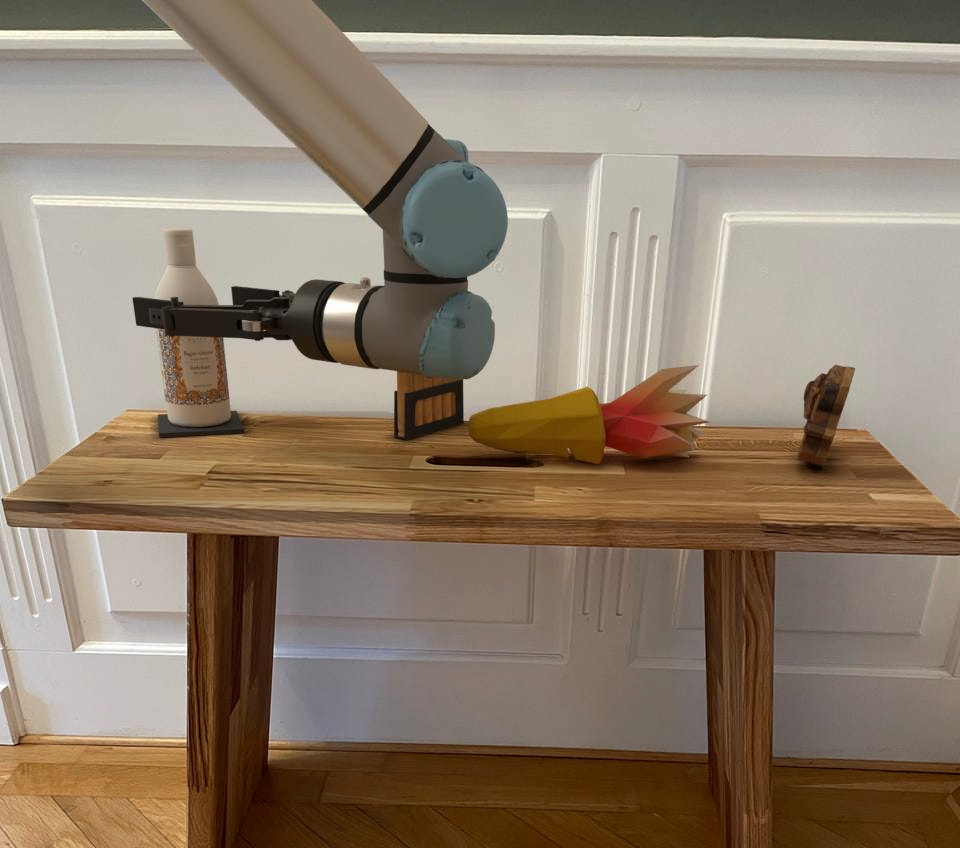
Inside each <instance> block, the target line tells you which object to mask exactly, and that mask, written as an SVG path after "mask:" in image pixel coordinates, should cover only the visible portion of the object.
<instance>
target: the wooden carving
mask: <svg viewBox="0 0 960 848" xmlns="http://www.w3.org/2000/svg"><path fill="white" fill-rule="evenodd" d="M855 372H856V367H854V366H847V365H845V366H842V365H839V364H834V365H832V367H831V368H830V369H829V370H828V372H827V373H823V372H821V373H820V374H819V375H818V376H816V377H815V379H814V380H810V381H809V382H808V383H807V384H806V386H805V389H804V392H803V419H804V420H806V423H805V425H804V426H803V427H802V431H803V436H802V438H801V439H802V440H801V441H800V444H799V446H798V447H799V448H798V451H797V460H798V461H800V462H805V463H811V464H812V465H813V466H816V467H820V468H824V467H825V464H826V462H827V459H828V456H829V453H830V449H831V446H832V444H833V441H834V438H835V436H836V432H837V430H838V426H839V422H840V419H841V417H842V414H843V411H844V408H845V404H846V401H847V398H848V395H849V393H850V388H851V386H852V382H853V378H854V375H855Z"/></svg>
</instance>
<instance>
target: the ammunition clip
mask: <svg viewBox="0 0 960 848" xmlns="http://www.w3.org/2000/svg"><path fill="white" fill-rule="evenodd" d="M464 413H465V412H464V379H449V378H434V377H432V379H431V378H426V377H425V376H421V375H415V374H409V373H404V372H398V371H396V390H394V391H393V437H394V438H396V439H401V440H405V441H410V440H414V439H416V438H419V437H423V436H426V435H429V434H432V433H436V432H439V431H443V430H445V429H449V428H452V427H455V426H458V425H462V424H464V423H465V421H464V420H465V419H464V415H465V414H464Z"/></svg>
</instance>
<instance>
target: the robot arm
mask: <svg viewBox="0 0 960 848" xmlns="http://www.w3.org/2000/svg"><path fill="white" fill-rule="evenodd" d="M141 1H142V2H143V3H144V4H145V5H146V6H147V7H148V8H149V9H150V10H151V11H152V12H153V13H154V14H155V15H157V16H158V17H159V18H160V19H161V20H162V21H163V22H164V23H165V24H166V25H167V26H168V27H169V28H170V29H171V30H172V31H173V32H174V33H175V34H176V35H178V36H179V37H180V39H182V40H183V41H184V42H185V43H186V44H187V45H188V46H190V48H191V49H192V50H194V51H195V52H196V53H197V55H199V56H200V57H201V58H202V59H203V60H204V61H205V62H206V63H207V64H208V65H209V66H210V67H211V68H212V69H214V71H215V72H217V73H218V74H219V75H220V76H221V77H222V78H223V79H224V80H225V81H226V82H227V83H228V84H229V85H230V86H231V87H232V88H233V89H235V90H236V91H237V92H238V93H239V94H240V95H241V96H242V97H243V98H244V99H245V100H246V101H247V102H248V103H249V104H250V105H251V106H253V108H255V109H256V110H257V111H258V112H259V113H260V114H261V115H262V116H263V117H264V118H265V119H266V120H267V121H268V122H270V123H271V124H272V126H274V127H275V128H276V129H277V130H278V131H279V132H280V133H281V134H282V135H283V136H284V137H286V139H287V140H289V141H290V142H291V143H292V144H293V145H294V146H295V147H296V148H297V149H298V150H299V151H300V152H301V153H302V154H303V155H304V156H305V157H306V158H308V159H309V160H310V161H311V162H312V163H313V164H314V165H315V166H316V167H317V168H318V169H319V170H320V171H321V172H323V174H325V176H327V178H328V179H330V180H331V181H332V182H333V183H334V184H335V185H336V186H337V187H338V188H339V189H340V190H341V191H342V192H343V193H344V194H346V196H347V197H349V198H350V199H351V200H352V201H353V202H354V203H355V204H356V205H357V206H358V207H359V208H361V209H362V210H363V212H364V213H366V215H367V217H369V218H370V219H371V220H372V221H373V222H374V223H375V224H376V225H377V226H378V227H379V228H380V229H382V244H383V245H382V247H383V249H382V250H383V280H384V281H383V283H384V284H383V285H372V283H371V278H370V277H361V278H360V280H359V282H360V283H354V282H353V283H351V282H344V281H338V280H327V279H310V280H308V281H306V282H304V283H303V284H302V285H301V286H299V287H298V289H297V290H296V292H294V291H292V290H289V289H288V290H284V291H282V292H281V294H280V290H277V289H267V288H259V287H249V286H239V285H234V286H233V285H232V286H231V287H230V289H231V291H230V292H231V300H232V301H231V302H232V304H219V305H184V304H183V302H178V297H171V301H169V300H161V299H155V298H153V297H143V296H133V297H131V298H132V299H131V300H132V306H133V313H134V318H135V319H134V320H135V325H136V327H143V328H151V329H156V328H157V329H164V331H165V335H166V336H169V337H174V336H192V337H220V338H223V339H243V340H252V341H255V342H260V341H263V340H265V339H274V340H275V341H292V342H293V344H294V346H295V348H296V349H297V351H298V352H300V354H301V355H302V356H304V357H306V358H307V359H309V360H313V361H319V362H324V363H325V362H327V363H333V364H341V365H343V366H349V367H357V368H365V369H371V370H388V371H393V372H397V371H398V372H404V373H409V374H415V375H421V376H425V377H426V378H431V379H432V377H434V378H449V379H463V380H470V379H472V378H474V377H475V376H477V375H479V373H480V372H482V371H483V370H484V368H485V367H486V366H487V364H488V362H489V360H490V357H491V355H492V352H493V348H494V344H495V339H496V338H495V337H496V324H495V320H494V319H493V318H492V315H493V310H492V308H491V306H490V304H489V302H488V300H487V299H485V298H484V297H482V296H481V295H479V294H476V293H473V292H472V291H469V280H468V277H471V276H473V275H476V274H478V273H480V272H481V271H483V270H485V269H486V268H487V267H489V266H490V265H491V264H492V263H493V262H495V260H496V258H497V256H498V255H499V254H500V252H501V250H502V249H503V246H504V244H505V241H506V237H507V232H508V227H509V216H508V208H507V204H506V200H505V198H504V196H503V195H504V194H503V193H502V191H501V190H500V187H499V186H498V184H497V183H496V182H495V181H494V179H492V177H490V175H488V174H487V173H486V172H485V171H484V170H483V169H482V168H481V167H479V166H477V165H475V164H473V163H471V162H469V150H468V147H467V145H466V144H465V143H464V142H462V141H461V140H457V139H450V138H448V139H447V138H444V137H443V136H442V135H441V134H440V133H438V131H436V130H435V128H433V127H432V125H430V123H429V121H428V120H427V119H426V118H425V116H423V115H422V114H421V113H420V112H419V110H418V109H417V108H415V107H414V106H413V105H412V103H411V102H410V101H409V100H408V99H407V98H406V97H405V96H404V95H403V93H401V92H400V90H398V89H397V88H396V87H395V86H394V84H392V82H390V80H389V79H388V78H387V77H386V76H385V75H384V74H383V73H382V72H381V71H380V70H379V69H378V68H377V67H376V65H375V64H373V62H371V61H370V60H369V58H368V57H367V56H366V55H365V54H364V53H363V52H362V51H361V50H360V49H359V48H358V47H357V46H356V45H355V44H354V43H353V42H352V41H351V39H349V37H348V36H347V35H346V34H345V33H344V32H343V31H342V30H341V29H340V28H339V27H338V26H337V25H336V24H335V23H334V22H333V20H331V19H330V18H329V16H328V15H327V14H326V13H325V12H324V11H323V10H322V9H321V8H320V7H319V5H317V4H316V3H315V1H313V0H141Z"/></svg>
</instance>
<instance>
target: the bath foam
mask: <svg viewBox="0 0 960 848" xmlns="http://www.w3.org/2000/svg"><path fill="white" fill-rule="evenodd" d="M193 232H194V231H193V229H192V228H183V227H170V228H168V227H167V228H163V231H162V233H163V239H164V240H163V241H164V250H165V256H166V263H167V266H166V269H165V270H164V272H163V275H162V277H161V279H160V281H159V284H158V286H157V288H156V291H155V294H154V299H161V300H169V301H171V297H178V302H183V304H184V305H220V304H219V301H218V298H217V295H216V293H215V292H214V290H213V287H212V286H211V284H210V283H209V282H208V280H207V279H206V277H205V276H204V275H203V273H202V272H201V270H200V269H199V268H198V267H197V260H196V250H195V242H194V241H195V240H194V233H193ZM155 333H156V341H157V348H158V356H159V363H160V370H161V379H162V384H163V385H162V386H163V392H164V401H165V407H166V414H167V415H168V419H169V421H170V422H171V423H173V424H175V425H178V426H183V427H209V426H215V425H220V424H223V423H225V422H227V421H228V420H229V419H230V418H231V411H232V409H231V399H230V389H229V379H228V370H227V361H226V360H227V359H226V351H225V340H224V338H220V337H192V336H174V337H169V336H166V335H165V331H164V329H157V328H155Z"/></svg>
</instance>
